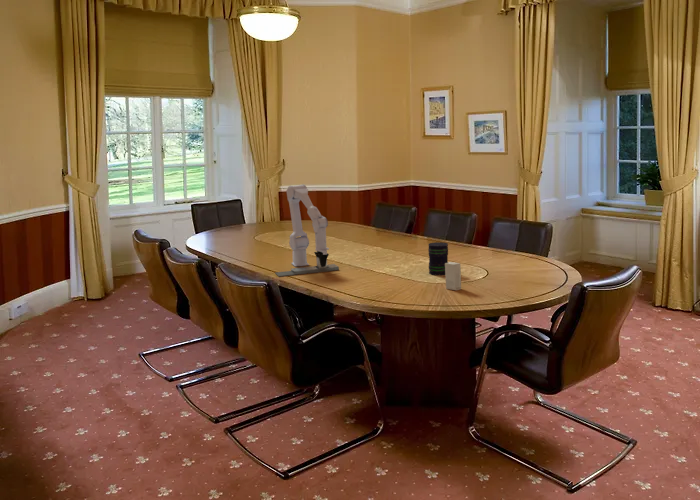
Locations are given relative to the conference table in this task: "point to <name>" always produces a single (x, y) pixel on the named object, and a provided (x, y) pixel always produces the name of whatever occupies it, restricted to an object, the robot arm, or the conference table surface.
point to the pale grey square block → (320, 263)
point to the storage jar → (437, 258)
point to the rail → (314, 269)
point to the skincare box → (453, 276)
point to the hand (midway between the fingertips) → (322, 265)
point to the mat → (284, 273)
